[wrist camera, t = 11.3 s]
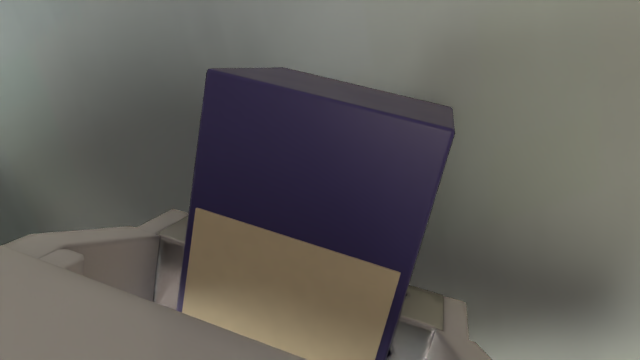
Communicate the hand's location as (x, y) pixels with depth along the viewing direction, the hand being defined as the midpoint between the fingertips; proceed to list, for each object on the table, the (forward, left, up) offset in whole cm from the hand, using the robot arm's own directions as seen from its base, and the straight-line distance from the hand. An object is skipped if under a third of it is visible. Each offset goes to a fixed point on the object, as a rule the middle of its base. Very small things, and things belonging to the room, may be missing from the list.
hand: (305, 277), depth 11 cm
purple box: (0, 0, -2) cm, 2 cm away
